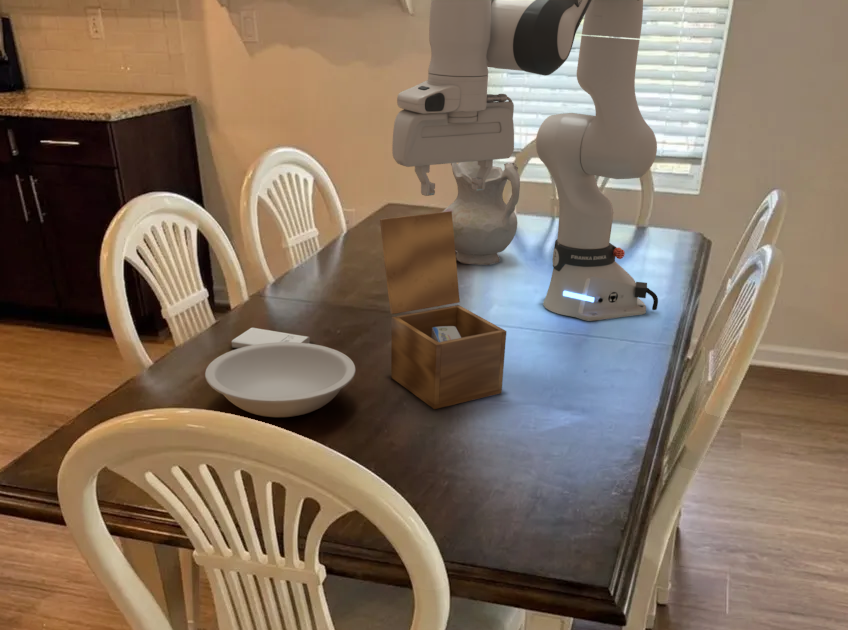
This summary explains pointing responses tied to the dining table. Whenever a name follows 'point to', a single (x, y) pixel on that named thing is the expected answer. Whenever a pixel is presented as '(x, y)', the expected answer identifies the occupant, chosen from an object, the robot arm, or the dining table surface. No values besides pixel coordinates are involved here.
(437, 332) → the medicine box
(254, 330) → the hard drive
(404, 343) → the chest
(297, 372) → the soup bowl
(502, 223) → the ceramic pitcher
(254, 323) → the dining table surface
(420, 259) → the lid
